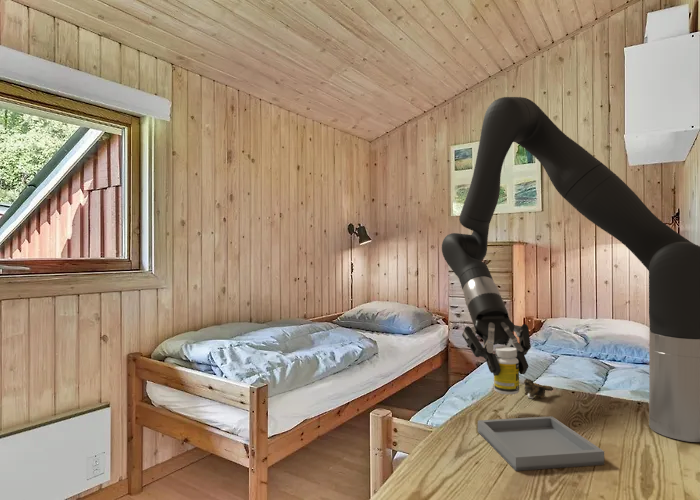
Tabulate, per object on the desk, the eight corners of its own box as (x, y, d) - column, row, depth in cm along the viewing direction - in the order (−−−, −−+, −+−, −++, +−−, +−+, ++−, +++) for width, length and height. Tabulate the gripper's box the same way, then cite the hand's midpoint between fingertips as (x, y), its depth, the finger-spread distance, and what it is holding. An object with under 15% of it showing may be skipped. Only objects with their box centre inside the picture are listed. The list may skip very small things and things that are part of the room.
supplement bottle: (521, 395, 87) (520, 351, 87) (495, 394, 88) (494, 351, 88) (517, 387, 92) (516, 345, 92) (492, 386, 93) (492, 345, 93)
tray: (552, 427, 83) (552, 416, 83) (604, 464, 69) (604, 451, 69) (477, 431, 81) (477, 420, 81) (515, 470, 67) (515, 457, 67)
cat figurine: (517, 395, 98) (520, 377, 99) (545, 398, 101) (548, 380, 102) (527, 400, 96) (530, 380, 96) (555, 402, 99) (558, 383, 99)
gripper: (456, 292, 96) (480, 364, 84) (521, 290, 98) (553, 361, 86) (448, 313, 102) (470, 384, 90) (510, 311, 103) (539, 380, 91)
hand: (510, 372), depth 88 cm, fingers closed on supplement bottle, 4 cm apart
